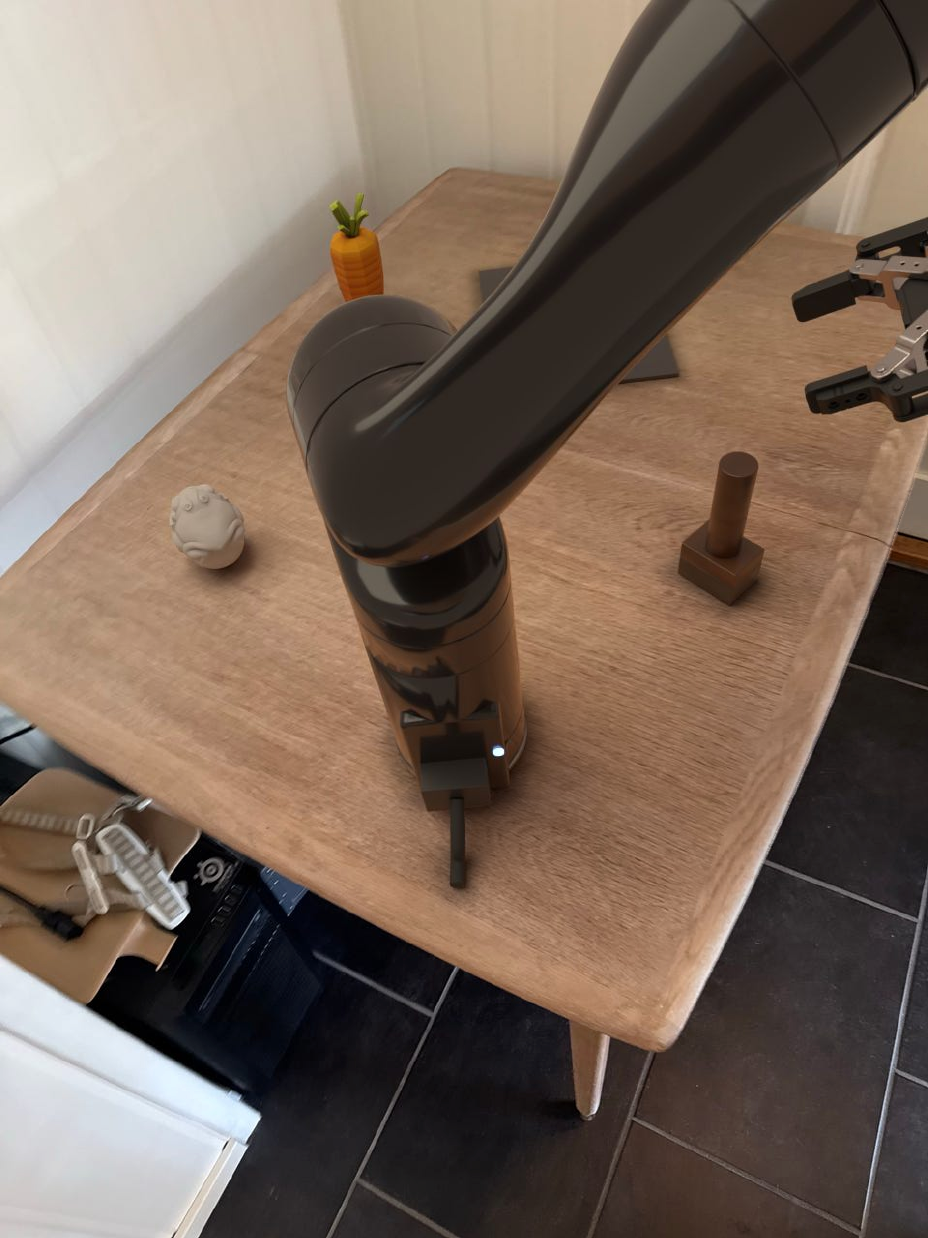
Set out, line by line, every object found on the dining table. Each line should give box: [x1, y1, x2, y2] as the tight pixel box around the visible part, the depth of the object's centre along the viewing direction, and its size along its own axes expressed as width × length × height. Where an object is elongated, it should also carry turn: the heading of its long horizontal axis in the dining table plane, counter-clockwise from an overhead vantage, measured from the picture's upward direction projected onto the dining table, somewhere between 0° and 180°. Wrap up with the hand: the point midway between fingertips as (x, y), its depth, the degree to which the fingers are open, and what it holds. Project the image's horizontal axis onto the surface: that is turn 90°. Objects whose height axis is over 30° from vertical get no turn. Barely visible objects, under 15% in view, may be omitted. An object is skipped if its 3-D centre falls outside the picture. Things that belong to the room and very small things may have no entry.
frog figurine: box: [169, 483, 246, 570], centre depth 74 cm, size 6×7×7 cm
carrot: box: [329, 192, 385, 303], centre depth 88 cm, size 5×5×15 cm
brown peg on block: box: [677, 450, 765, 606], centre depth 65 cm, size 5×4×12 cm
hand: (800, 353), depth 57 cm, fingers open, 8 cm apart
